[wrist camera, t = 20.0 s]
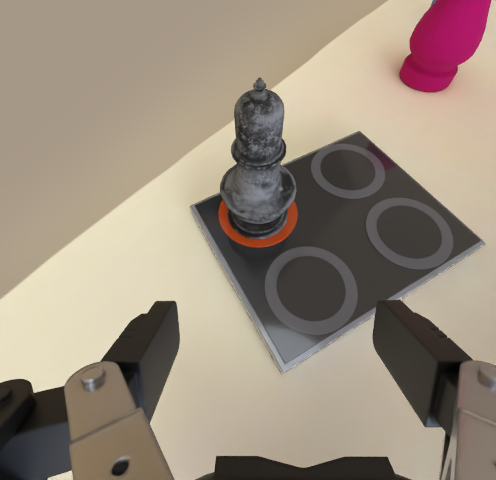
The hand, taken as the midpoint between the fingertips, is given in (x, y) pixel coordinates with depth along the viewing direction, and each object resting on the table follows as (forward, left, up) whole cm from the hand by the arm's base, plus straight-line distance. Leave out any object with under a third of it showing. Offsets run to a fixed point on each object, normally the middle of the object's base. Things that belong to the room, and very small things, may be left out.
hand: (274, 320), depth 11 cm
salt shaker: (-5, -10, -9) cm, 15 cm away
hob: (-10, -6, -11) cm, 16 cm away
